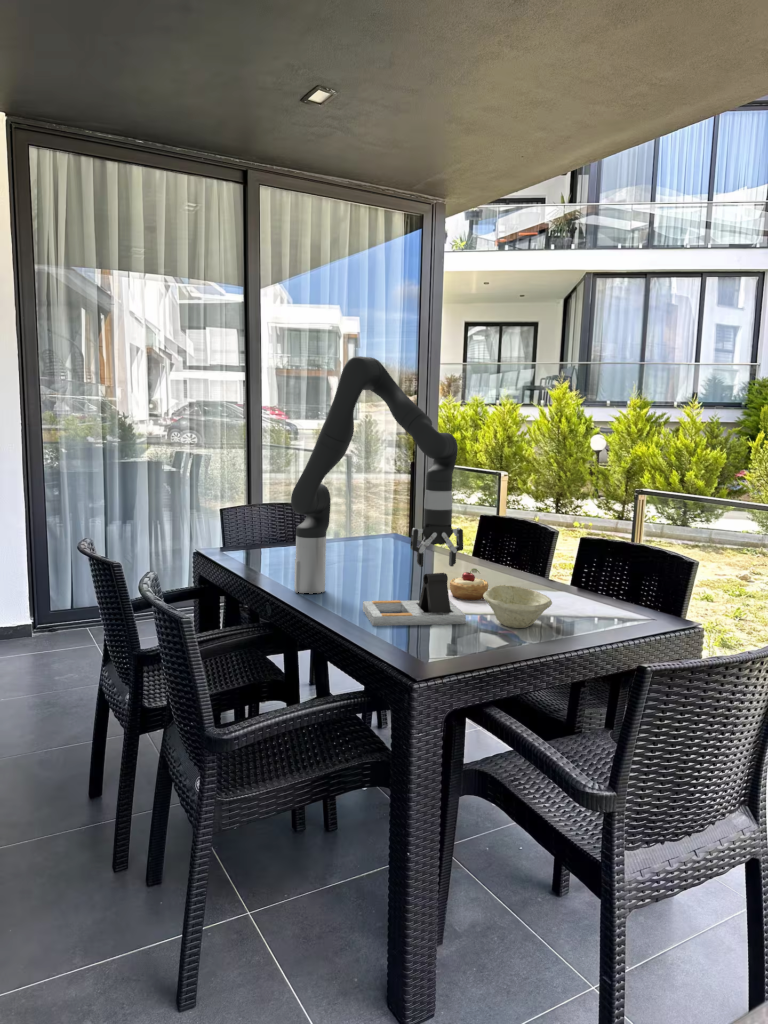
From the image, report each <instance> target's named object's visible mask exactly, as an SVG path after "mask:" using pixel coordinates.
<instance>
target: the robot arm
mask: <svg viewBox="0 0 768 1024" xmlns="http://www.w3.org/2000/svg"><path fill="white" fill-rule="evenodd" d="M363 391H371V392H373V393H374V394H375V395H377V396H378V397H379V398H380V399H382V400H383V401H384V403H385V404H386V406H387V407H388V410H389V411H390V413H391V415H392V417H393V419H394V420H395V421H396V423H397V424H398V425H399V426H400V427H401V428H402V429H403V430H404V431H405V432H406V433H407V434H409V435H410V436H411V437H412V439H413V440H414V442H415V444H416V445H417V447H418V449H419V450H420V451H421V452H422V453H423V454H424V455H425V456H426V457H428V458H429V459H432V460H433V462H432V466H431V468H429V469H428V470H427V472H426V475H425V476H426V477H425V493H424V494H425V495H424V501H423V527H422V528H416V527H413V528H412V529H411V537H410V546H409V548H410V550H412V551H414V552H416V563H417V565H418V566H419V567H421V568H422V567H423V568H424V558H425V557H424V551H425V550H426V549H427V548H428V547H429V546H430V545H433V546H434V545H446V546H447V548H448V549H449V553H448V554H449V555H448V556H449V557H448V565H449V567H454V565H456V563H457V553H458V552H461V551H463V550H464V530H463V529H462V528H460V527H457V528H453V527H452V524H453V523H452V522H453V521H452V520H453V493H452V492H453V491H452V490H453V489H452V488H453V473H454V471H455V470H454V469H455V465H456V462H457V458H458V452H459V449H458V443H457V442H458V441H457V438H455V436H454V435H453V434H452V433H449V432H439V431H437V430H436V429H435V428H434V427H433V421H432V419H431V418H430V417H429V415H427V413H426V412H424V411H423V410H422V409H421V408H420V407H419V406H418V405H417V404H416V403H415V402H414V401H413V400H412V399H410V397H409V396H408V395H407V394H406V393H405V392H404V390H402V389H401V387H400V386H399V385H398V384H397V382H396V381H395V379H393V377H392V376H391V374H390V373H389V371H387V369H386V368H385V365H383V364H382V363H381V362H380V360H378V359H376V358H375V357H370V356H359V355H358V356H352V357H351V358H349V359H348V360H347V361H346V363H345V364H344V366H343V368H342V370H341V375H340V377H339V382H338V385H337V388H336V391H335V394H334V397H333V400H332V403H331V405H330V408H329V410H328V414H327V416H326V418H325V421H324V423H323V424H322V427H321V429H320V432H319V434H318V436H317V439H316V442H315V445H314V447H313V449H312V452H311V454H310V456H309V459H308V461H307V464H305V467H304V469H303V471H302V473H301V474H300V476H299V478H298V480H297V482H296V484H295V486H294V487H293V490H292V492H291V495H290V496H291V497H290V505H291V508H292V510H293V511H294V512H295V513H296V514H298V515H304V516H305V515H306V516H305V518H304V520H303V521H302V522H301V523H300V524H299V525H297V526H296V529H295V558H294V585H293V586H294V587H293V589H294V588H295V589H294V591H295V593H296V594H304V593H309V594H308V595H314V594H313V593H317V594H322V593H325V591H326V568H327V567H326V561H327V555H326V554H327V531H328V528H329V526H330V515H331V494H330V491H329V489H328V487H327V486H326V485H325V484H323V483H322V482H323V480H324V478H325V477H326V476H327V474H328V473H329V472H330V471H332V470H333V468H334V467H335V466H336V465H337V464H338V463H339V462H340V461H341V460H342V459H343V458H344V456H345V455H346V452H347V451H348V449H349V447H350V445H351V441H352V440H353V437H354V434H355V419H354V418H355V417H354V416H355V415H354V413H355V408H356V406H357V403H358V401H359V397H360V396H361V394H362V392H363ZM421 534H422V535H423V537H424V538H423V539H422V541H421V542H420V544H419V546H418V539H419V537H420V536H421ZM452 535H454V536H455V538H456V539H455V541H456V545H454V543H453V542H452V541H451V539H450V538H451V536H452ZM298 592H299V593H298ZM321 592H322V593H321Z"/></svg>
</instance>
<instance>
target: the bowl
mask: <svg viewBox="0 0 768 1024" xmlns="http://www.w3.org/2000/svg"><path fill="white" fill-rule="evenodd" d="M483 597H484V598H483V599H484V600H485V602H487V604H488V605H489V607H490V609H491V610H492V611H493V613H494V616H495V618H496V620H497V621H498V622H499V623H500V624H501V625H503V626H505V627H508V628H514V629H526V628H528V627H531V626H532V625H533V624H534V623H535V622H536V621H537V620H538V618H540V617H541V616H542V614H543V613H544V612H545V611H546V610H548V609H549V608H550V607H551V605H553V602H552V599H551V598H550V597H549V596H547V594H546V595H545V594H543V593H541V592H540V591H538V590H537V591H536V590H534V589H531V588H526V587H524V586H523V587H521V586H517V585H516V586H515V585H506V584H498V585H494V586H492V587H490V588H488V591H486V592H485V593H484V594H483Z"/></svg>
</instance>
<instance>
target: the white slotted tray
mask: <svg viewBox="0 0 768 1024" xmlns="http://www.w3.org/2000/svg"><path fill="white" fill-rule="evenodd" d="M449 602H450V610H451V612H449V613H425V612H424V611H423V610H422V609H421V608H420V607H419V606H418V605H419V600H398V599H397V600H395V599H394V600H369V601H368V600H367V601H362V611H363V613H364V612H365V613H364V615H365V616H366V618H367V619H368V621H369V620H370V621H369V622H370V624H371V625H372V626H373V627H383V626H385V627H387V626H392V627H393V626H394V627H395V626H419V625H420V626H424V625H425V626H427V625H430V626H431V625H432V626H433V625H466V617H467V614H466V613H464V612H463V610H461V609H460V608H459V607H458V606H457V605H455V604H454V603H453V602H452V601H450V599H449Z"/></svg>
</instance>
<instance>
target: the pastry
mask: <svg viewBox="0 0 768 1024" xmlns="http://www.w3.org/2000/svg"><path fill="white" fill-rule="evenodd" d="M474 570H475V571H476V572H477V573H478V574H481V573H480V571H479V570H478V569H477V568H471V569H470V571H469V572H467V571H466V572H463V573H462V575H461V577H456V578H455V577H454V578H452V579H451V580H450V581H449V590H450V593H451V594H452V597H454V598H456V599H458V600H464V601H479V599H480V600H483V599H484V597H483V594H484V593H485V592H486V591H488V590H489V583H488V581H486V580H485V579H482V578H478V577H476V576H475V574H473V573H472V571H474Z"/></svg>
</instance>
